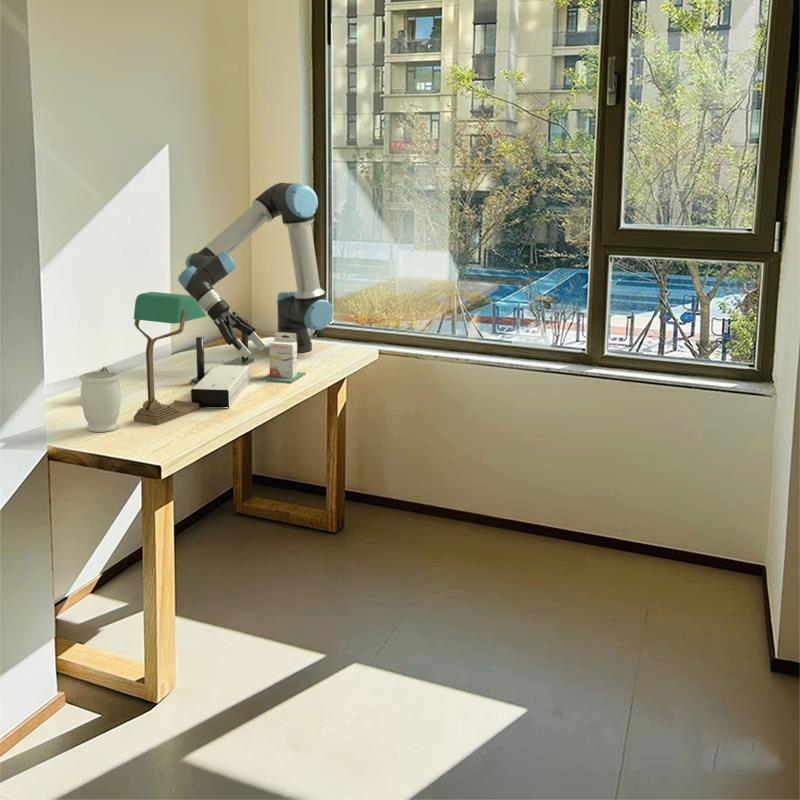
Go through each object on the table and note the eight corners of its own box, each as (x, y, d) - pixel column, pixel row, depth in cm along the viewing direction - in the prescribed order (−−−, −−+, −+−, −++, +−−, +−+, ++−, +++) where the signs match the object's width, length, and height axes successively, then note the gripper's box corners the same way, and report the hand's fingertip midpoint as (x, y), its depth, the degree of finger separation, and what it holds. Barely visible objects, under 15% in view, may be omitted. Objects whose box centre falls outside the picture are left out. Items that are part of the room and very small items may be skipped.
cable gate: (238, 360, 341) (238, 319, 338) (254, 362, 340) (253, 320, 336) (191, 383, 305) (189, 337, 302) (207, 385, 304) (206, 338, 300)
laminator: (228, 410, 277) (228, 390, 275) (187, 409, 277) (187, 388, 275) (249, 383, 310) (248, 365, 308) (212, 382, 310) (212, 364, 308)
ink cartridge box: (268, 376, 316) (268, 333, 312) (273, 373, 321) (273, 331, 317) (292, 378, 314) (292, 335, 310) (297, 375, 319) (297, 333, 315)
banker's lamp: (123, 419, 263) (116, 296, 254) (168, 403, 281) (164, 288, 272) (169, 426, 257) (164, 301, 248) (212, 409, 275) (209, 292, 266)
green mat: (276, 371, 325) (276, 370, 325) (305, 374, 323) (305, 372, 323) (260, 380, 312) (260, 378, 312) (291, 383, 310) (291, 381, 310)
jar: (89, 422, 259) (86, 370, 255) (126, 423, 259) (124, 371, 255) (77, 433, 248) (73, 379, 245) (116, 434, 249) (113, 380, 245)
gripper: (222, 307, 331) (262, 352, 331) (191, 318, 307) (233, 366, 307) (236, 293, 328) (276, 338, 328) (205, 303, 305) (248, 351, 305)
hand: (256, 352), depth 318 cm, fingers open, 13 cm apart
